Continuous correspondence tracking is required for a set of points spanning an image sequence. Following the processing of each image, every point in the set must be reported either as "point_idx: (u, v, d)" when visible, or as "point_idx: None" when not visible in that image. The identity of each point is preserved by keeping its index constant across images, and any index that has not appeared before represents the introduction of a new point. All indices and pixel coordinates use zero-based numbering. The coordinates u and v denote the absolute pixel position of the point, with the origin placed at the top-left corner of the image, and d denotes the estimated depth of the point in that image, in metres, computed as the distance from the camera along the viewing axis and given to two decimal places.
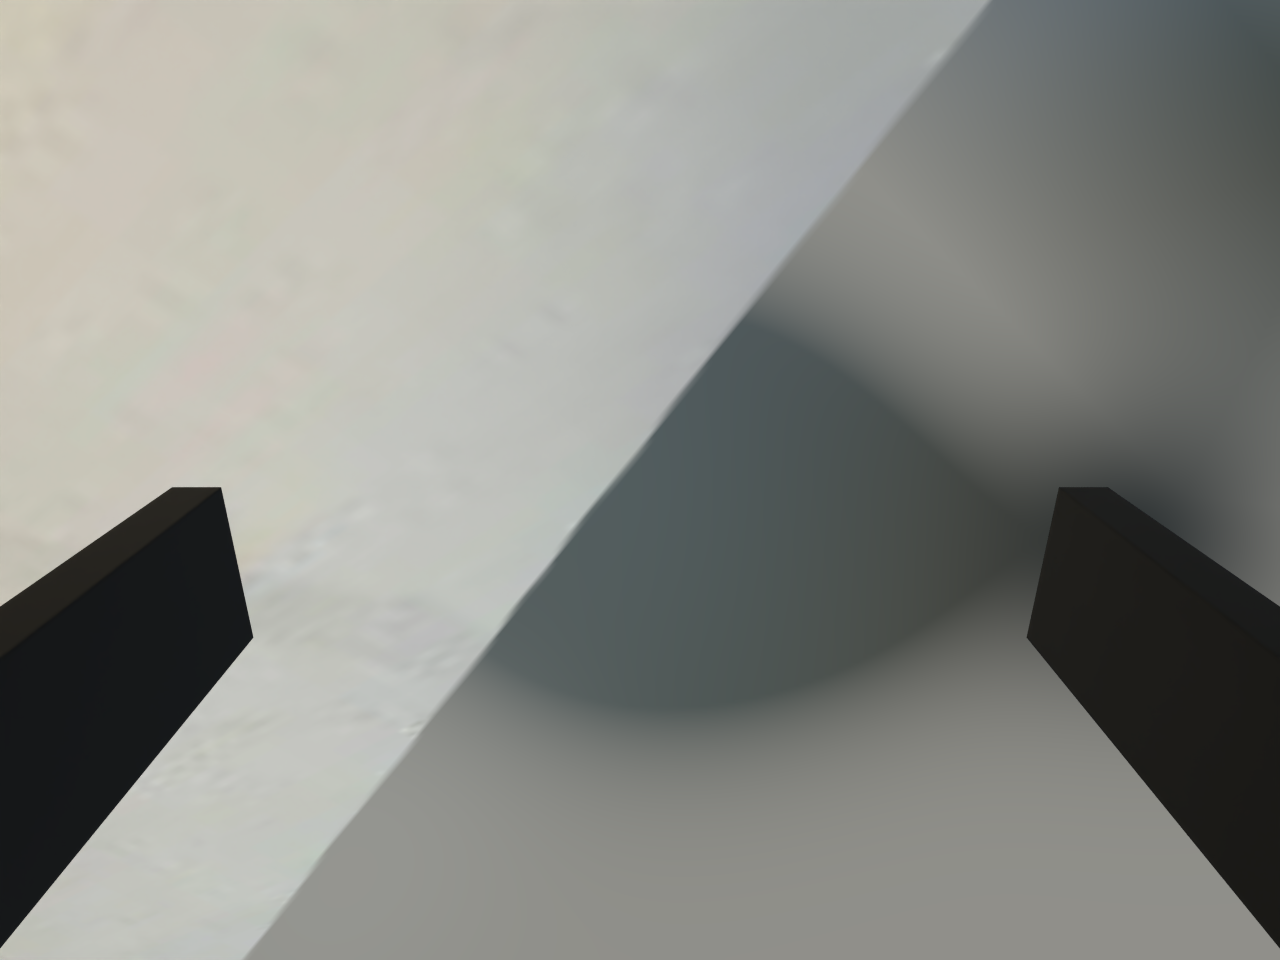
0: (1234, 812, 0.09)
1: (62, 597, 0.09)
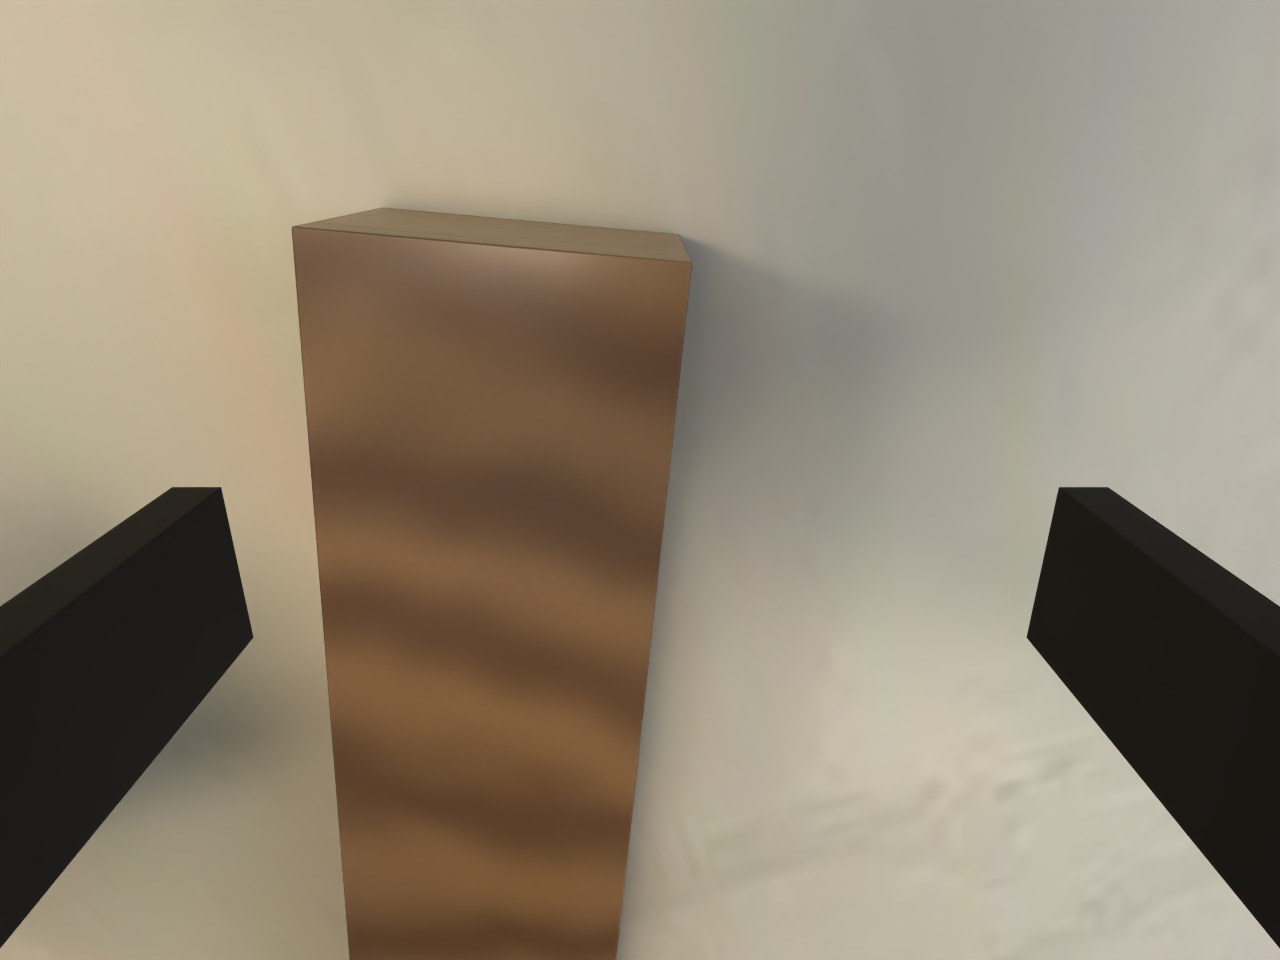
0: (1234, 812, 0.09)
1: (62, 597, 0.09)
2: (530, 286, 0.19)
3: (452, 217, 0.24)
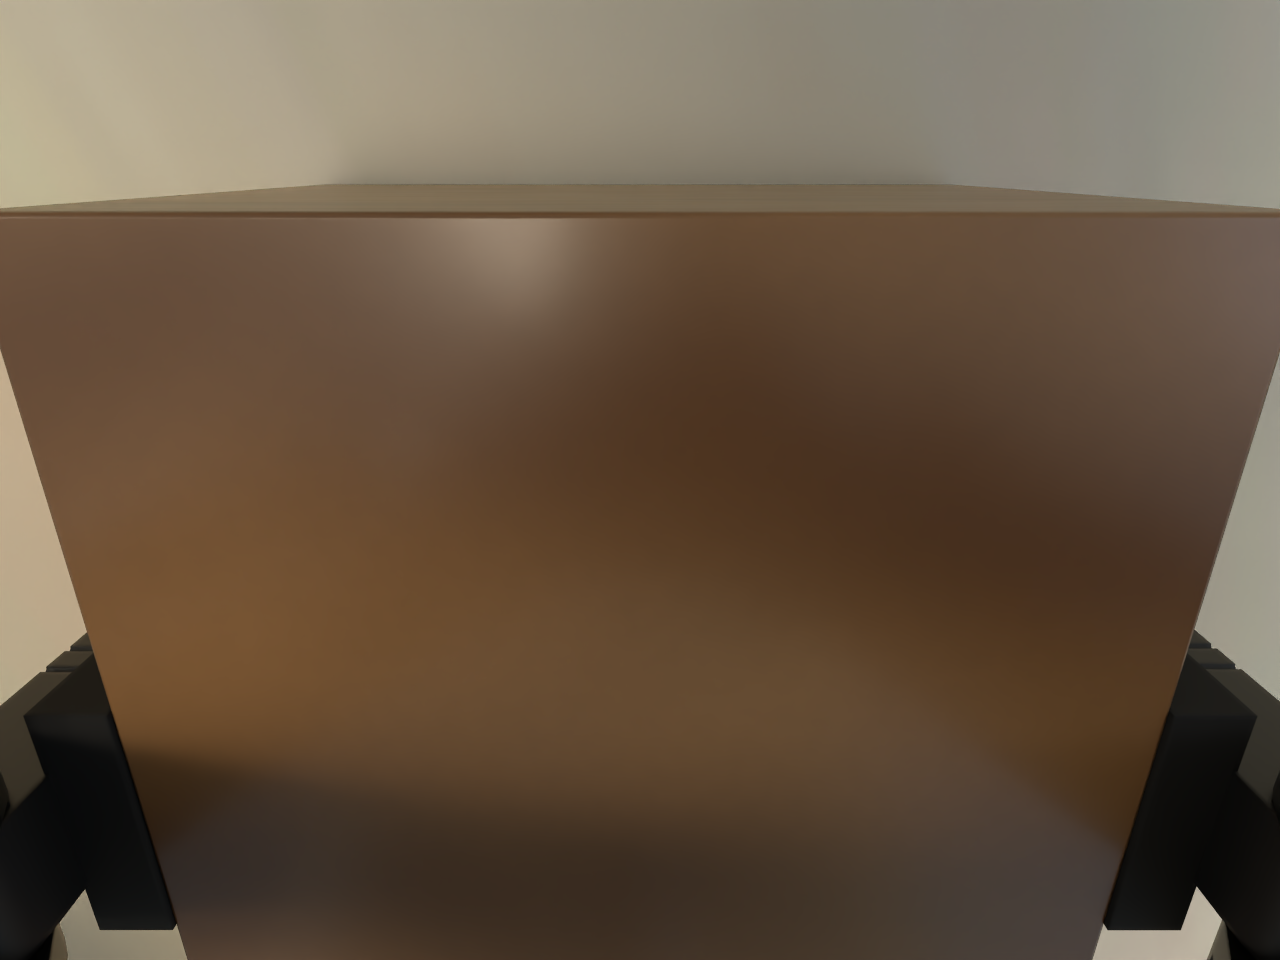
0: None
1: None
2: (766, 343, 0.06)
3: (476, 186, 0.11)
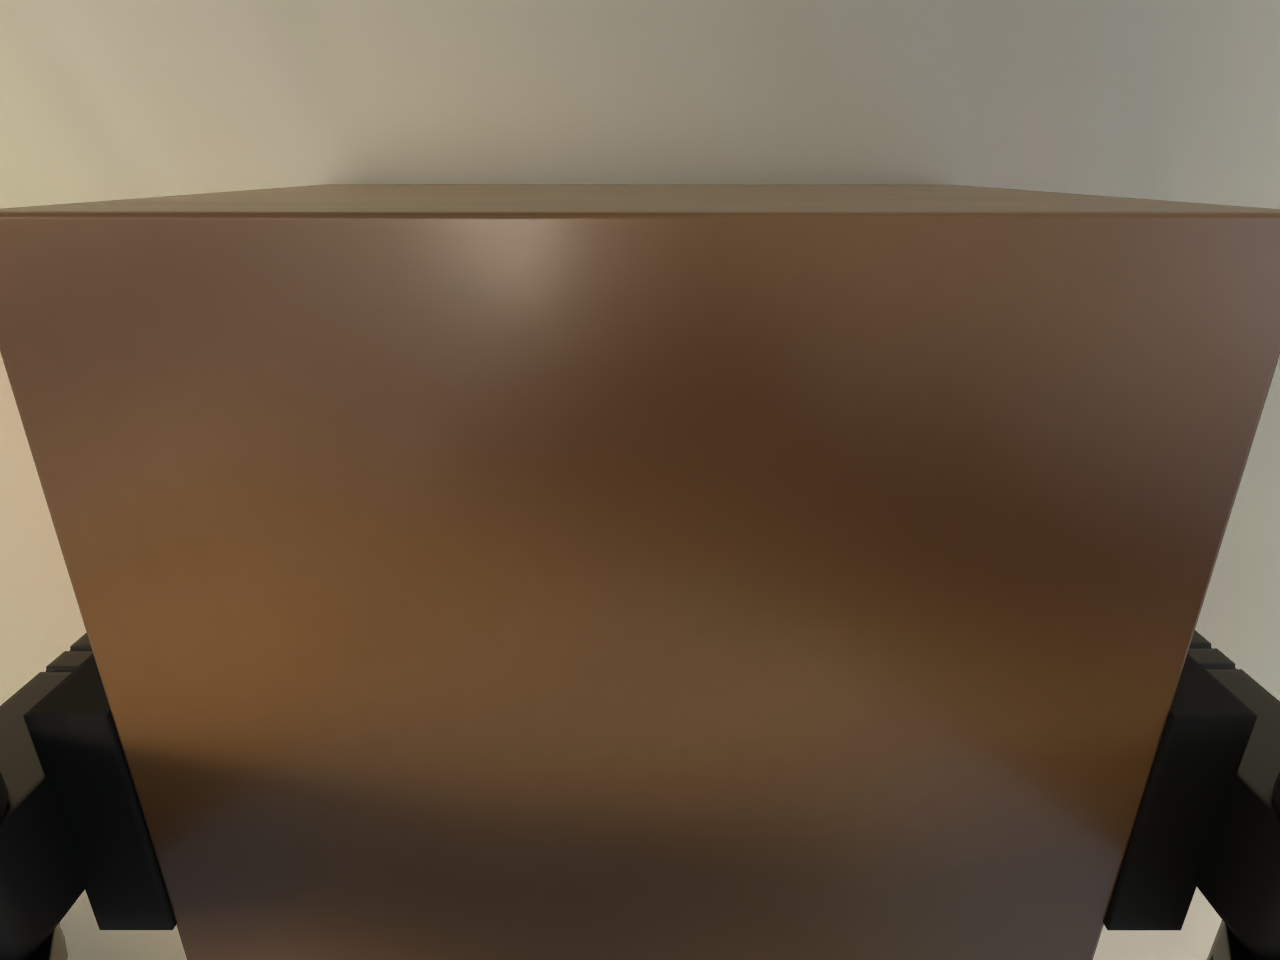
0: None
1: None
2: (766, 344, 0.06)
3: (476, 186, 0.11)
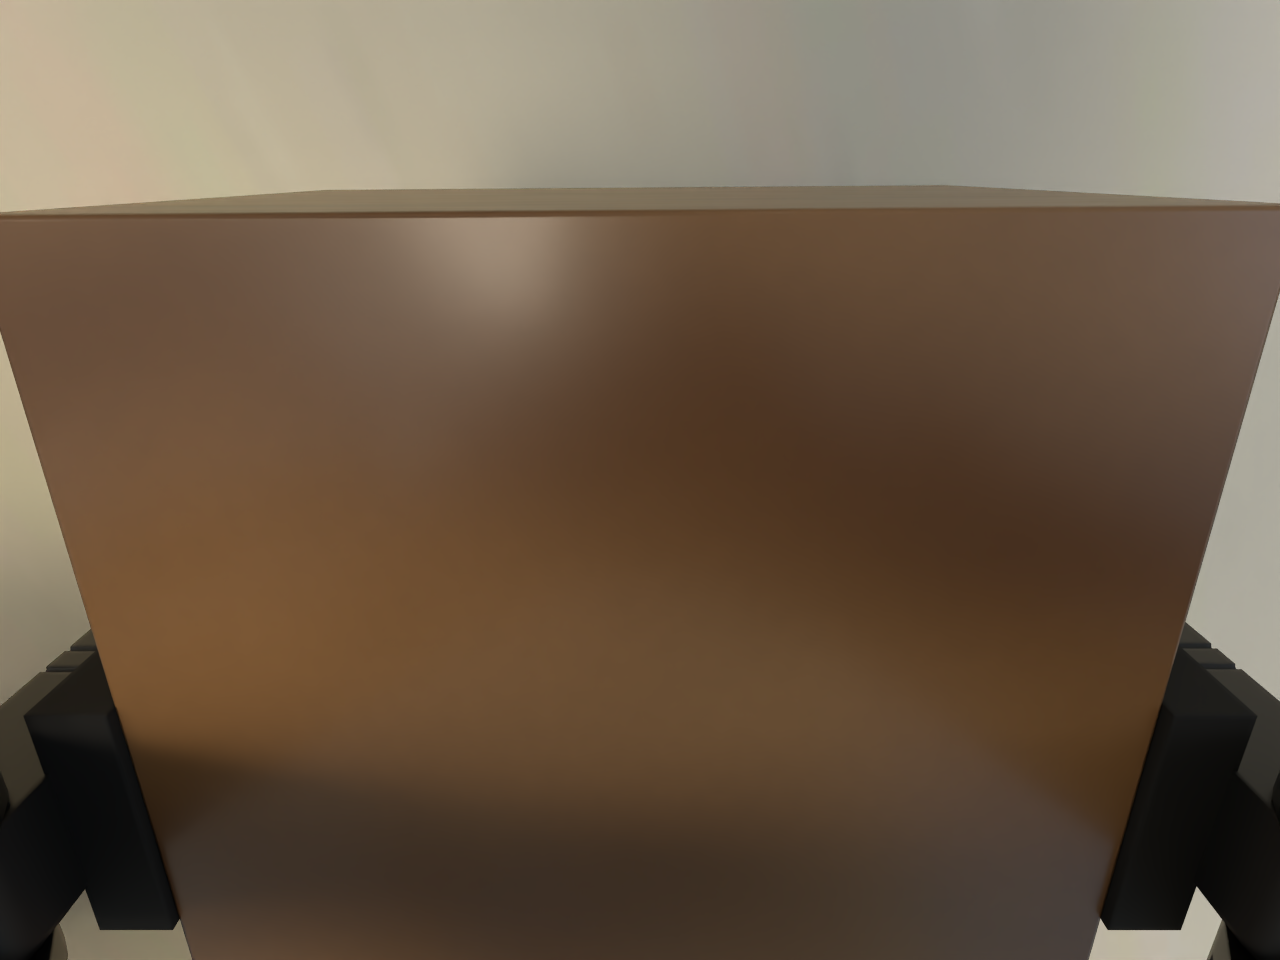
0: None
1: None
2: (757, 337, 0.06)
3: (474, 190, 0.11)
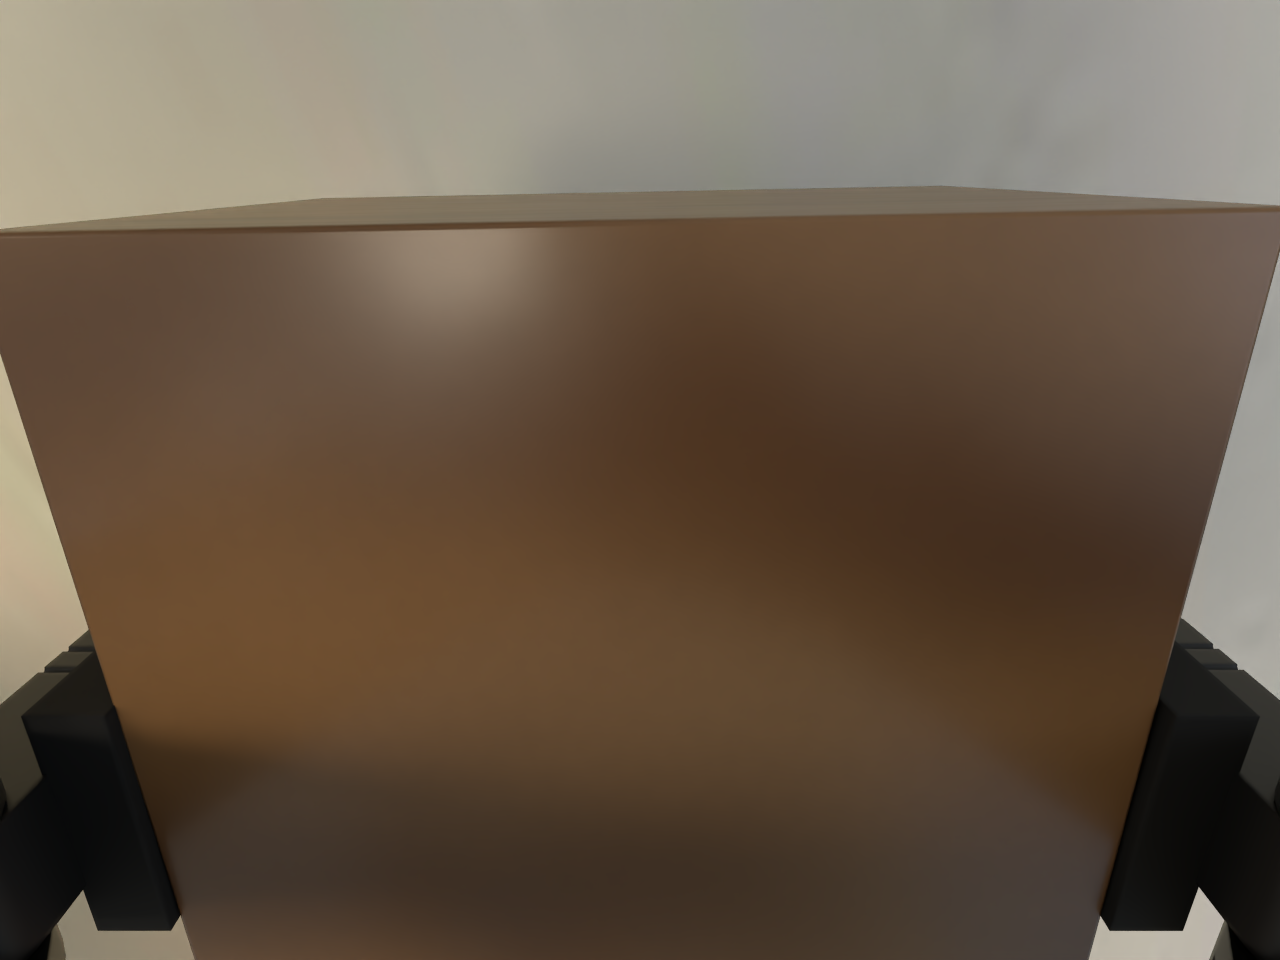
0: None
1: None
2: (748, 344, 0.06)
3: (470, 197, 0.11)
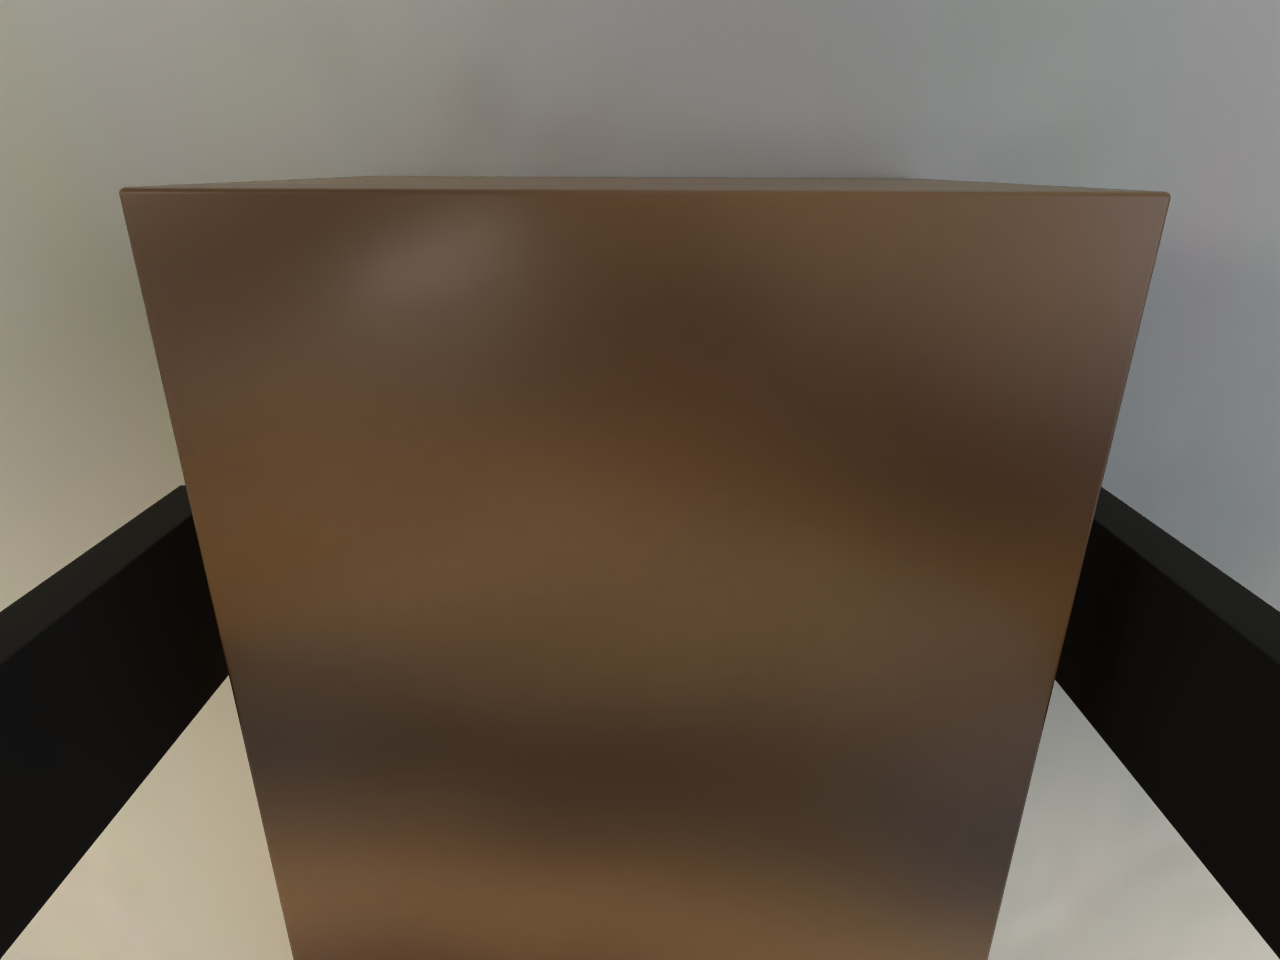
0: (1222, 808, 0.09)
1: (74, 594, 0.09)
2: (742, 294, 0.07)
3: None
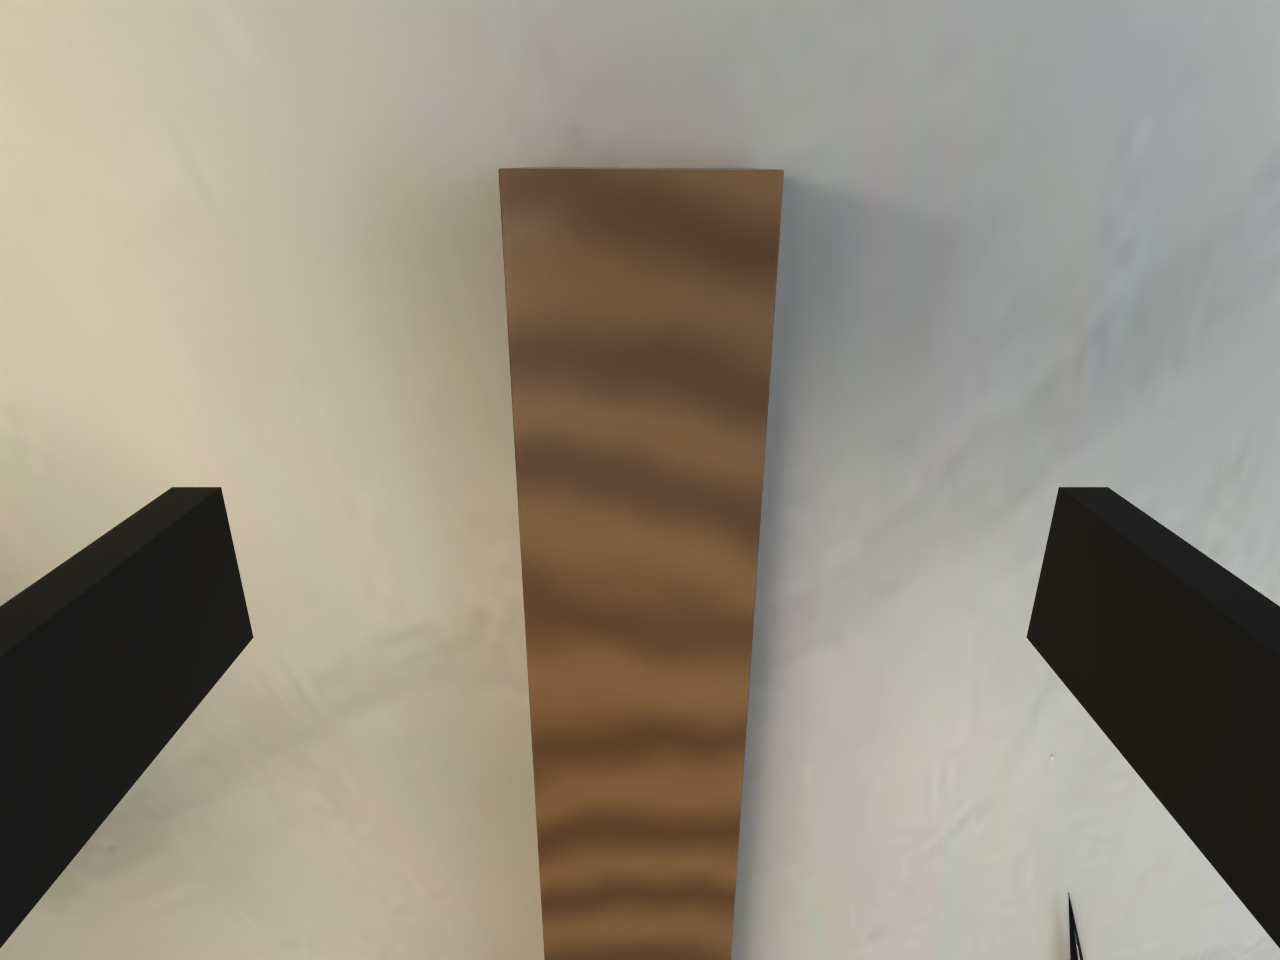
0: (1235, 812, 0.09)
1: (62, 597, 0.09)
2: (668, 198, 0.27)
3: None
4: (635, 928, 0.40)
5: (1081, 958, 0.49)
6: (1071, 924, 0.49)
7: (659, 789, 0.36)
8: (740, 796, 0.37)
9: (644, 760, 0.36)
